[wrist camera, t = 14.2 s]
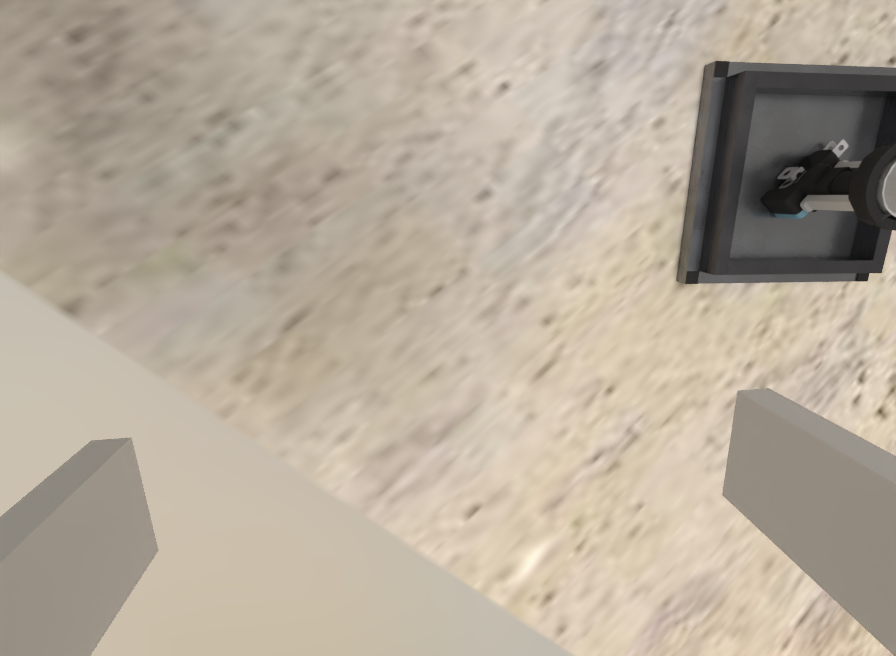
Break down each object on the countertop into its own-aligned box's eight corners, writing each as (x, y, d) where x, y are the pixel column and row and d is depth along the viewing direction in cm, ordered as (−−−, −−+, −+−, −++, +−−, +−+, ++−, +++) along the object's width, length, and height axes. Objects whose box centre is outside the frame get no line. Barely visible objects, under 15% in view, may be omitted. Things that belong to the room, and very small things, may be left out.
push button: (808, 120, 36) (957, 94, 27) (848, 168, 38) (1002, 160, 28) (744, 191, 37) (865, 190, 28) (785, 235, 39) (913, 250, 29)
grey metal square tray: (705, 65, 36) (734, 53, 33) (900, 72, 37) (945, 61, 34) (676, 280, 40) (700, 288, 37) (853, 278, 42) (889, 285, 39)
